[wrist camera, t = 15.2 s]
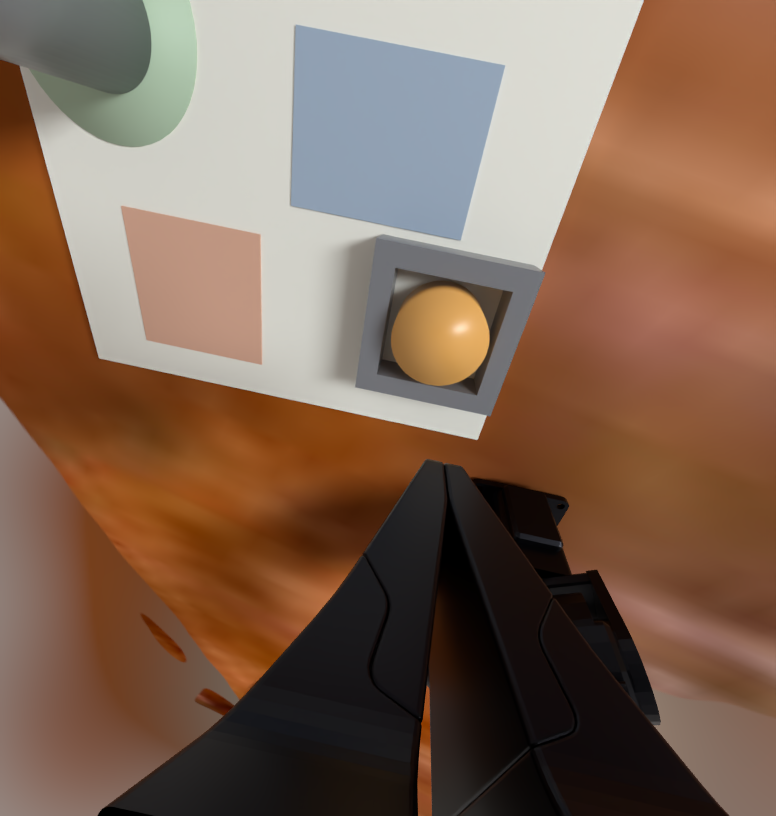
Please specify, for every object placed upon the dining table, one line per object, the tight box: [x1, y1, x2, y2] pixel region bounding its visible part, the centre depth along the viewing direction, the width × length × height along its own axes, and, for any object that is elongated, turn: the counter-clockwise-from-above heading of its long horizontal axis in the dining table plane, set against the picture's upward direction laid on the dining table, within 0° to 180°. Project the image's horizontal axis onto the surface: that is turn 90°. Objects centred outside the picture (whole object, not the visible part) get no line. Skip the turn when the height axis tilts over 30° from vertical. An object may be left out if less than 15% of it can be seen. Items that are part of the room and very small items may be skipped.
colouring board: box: [20, 0, 644, 440], centre depth 15 cm, size 27×24×1 cm
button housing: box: [355, 234, 545, 416], centre depth 18 cm, size 7×7×2 cm
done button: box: [391, 281, 490, 386], centre depth 17 cm, size 4×4×2 cm
